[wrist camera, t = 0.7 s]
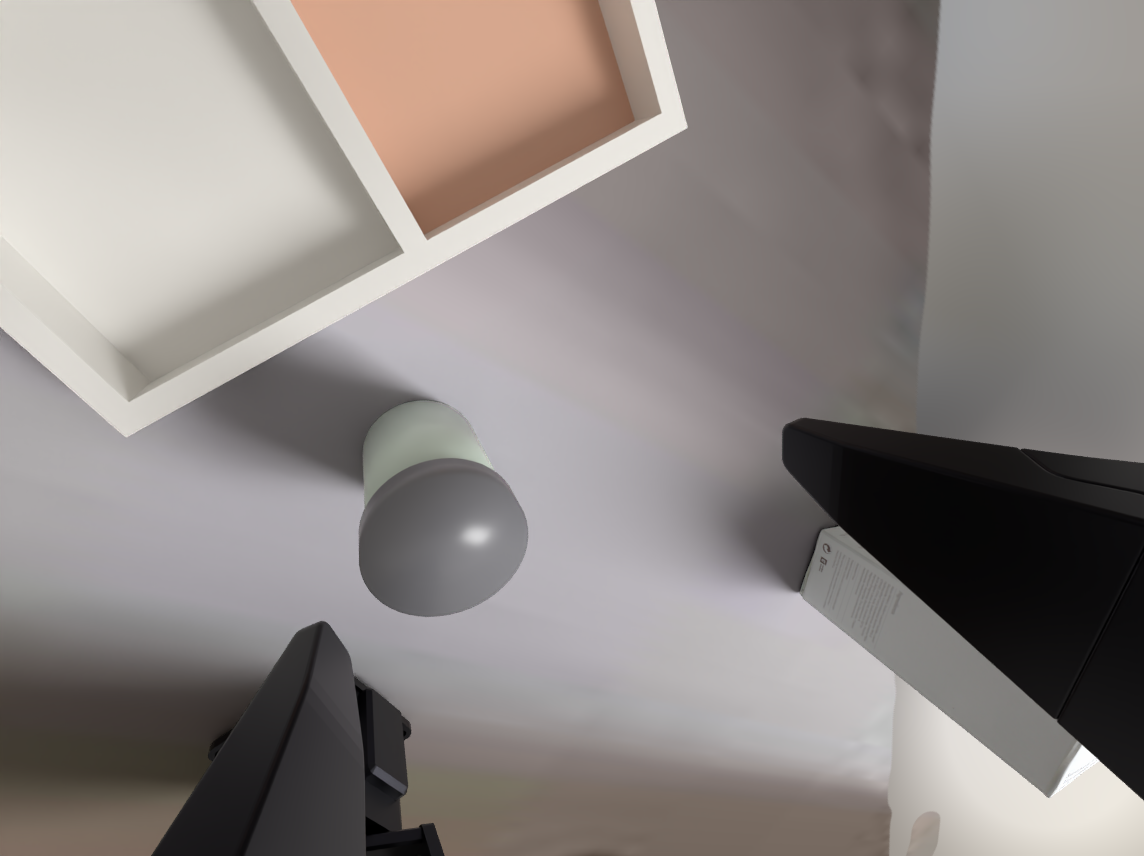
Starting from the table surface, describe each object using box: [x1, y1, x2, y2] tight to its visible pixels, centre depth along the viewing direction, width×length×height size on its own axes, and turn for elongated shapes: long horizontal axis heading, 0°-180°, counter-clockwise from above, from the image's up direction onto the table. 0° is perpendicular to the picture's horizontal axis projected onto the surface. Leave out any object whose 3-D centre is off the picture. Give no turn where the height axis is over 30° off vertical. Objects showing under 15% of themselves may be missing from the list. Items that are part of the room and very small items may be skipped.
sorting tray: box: [0, 0, 688, 437], centre depth 14 cm, size 20×11×2 cm, turn 115°
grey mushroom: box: [359, 400, 528, 617], centre depth 18 cm, size 5×5×7 cm
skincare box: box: [800, 526, 1099, 798], centre depth 30 cm, size 8×6×15 cm
